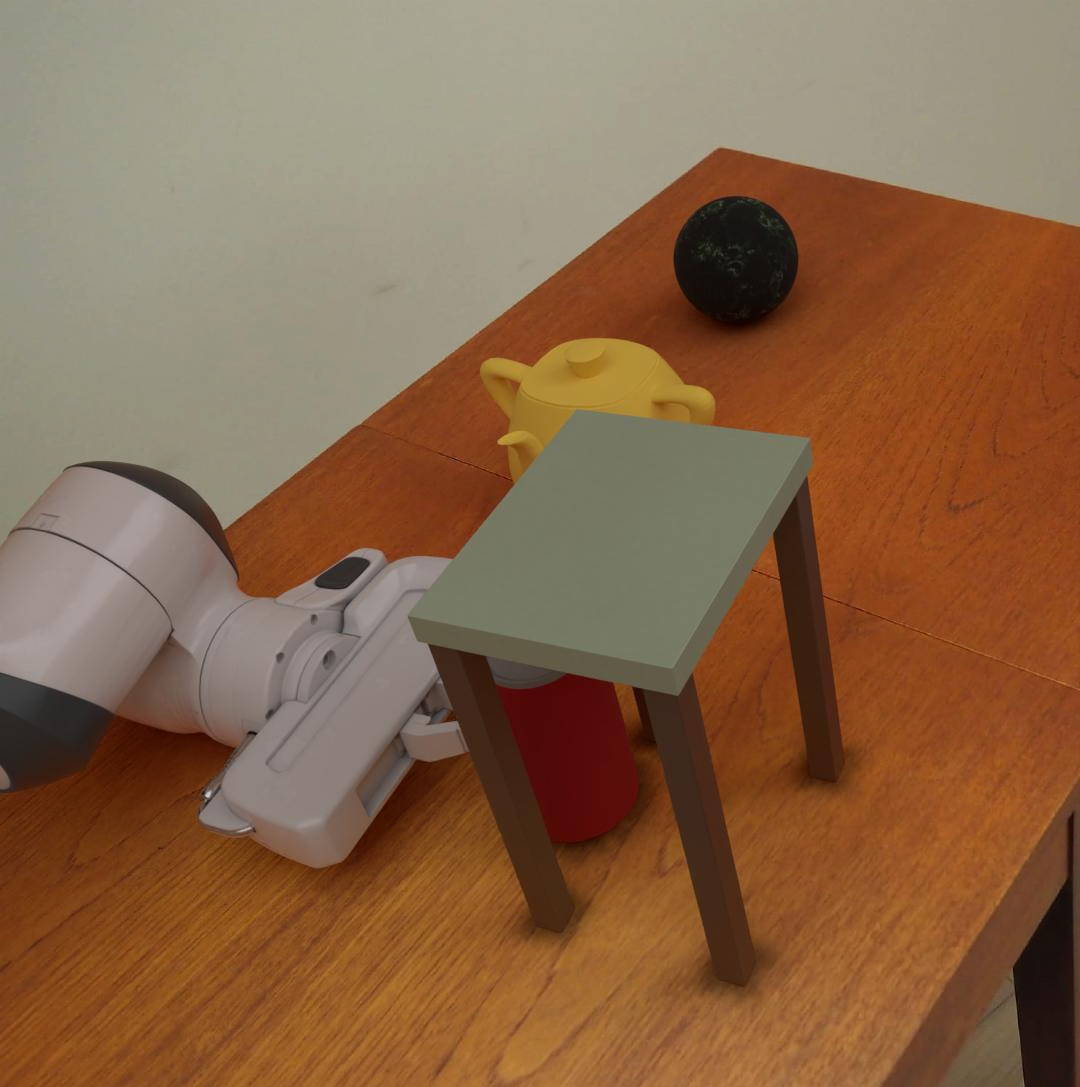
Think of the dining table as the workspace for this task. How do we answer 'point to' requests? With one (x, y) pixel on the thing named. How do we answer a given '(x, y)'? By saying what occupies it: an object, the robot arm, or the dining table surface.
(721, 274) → the decorative stone
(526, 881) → the side table
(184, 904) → the dining table surface
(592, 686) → the beverage can
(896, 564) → the dining table surface
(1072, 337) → the dining table surface
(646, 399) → the teapot
